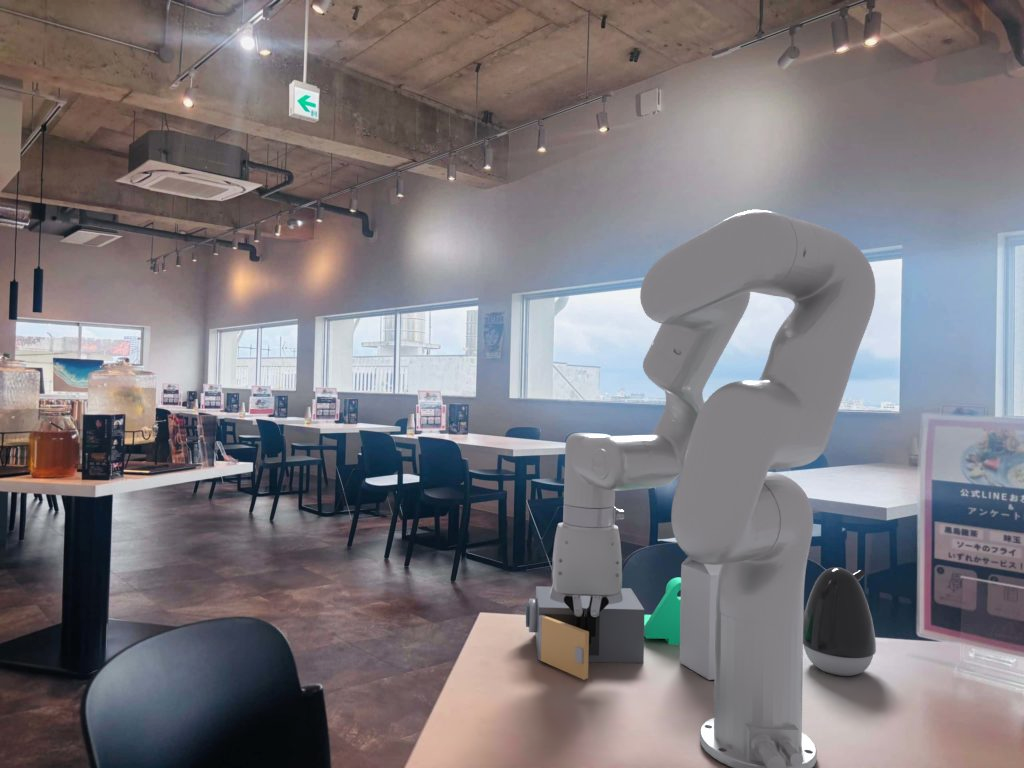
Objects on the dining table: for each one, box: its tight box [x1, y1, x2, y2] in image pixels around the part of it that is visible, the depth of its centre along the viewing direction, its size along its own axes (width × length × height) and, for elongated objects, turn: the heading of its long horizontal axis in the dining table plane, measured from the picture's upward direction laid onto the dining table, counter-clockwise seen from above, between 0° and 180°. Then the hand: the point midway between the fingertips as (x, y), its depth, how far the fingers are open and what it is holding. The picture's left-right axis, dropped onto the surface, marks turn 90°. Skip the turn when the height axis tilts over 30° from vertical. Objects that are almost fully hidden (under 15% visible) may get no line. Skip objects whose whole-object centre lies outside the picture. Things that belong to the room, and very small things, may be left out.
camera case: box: [525, 585, 645, 664], centre depth 112 cm, size 12×18×9 cm
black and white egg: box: [803, 566, 877, 677], centre depth 106 cm, size 10×10×15 cm
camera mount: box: [644, 576, 681, 645], centre depth 119 cm, size 12×8×10 cm, turn 91°
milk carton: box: [679, 555, 722, 681], centre depth 105 cm, size 7×7×19 cm
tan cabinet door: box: [537, 615, 589, 680], centre depth 102 cm, size 1×10×6 cm, turn 40°
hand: (584, 640), depth 104 cm, fingers closed
